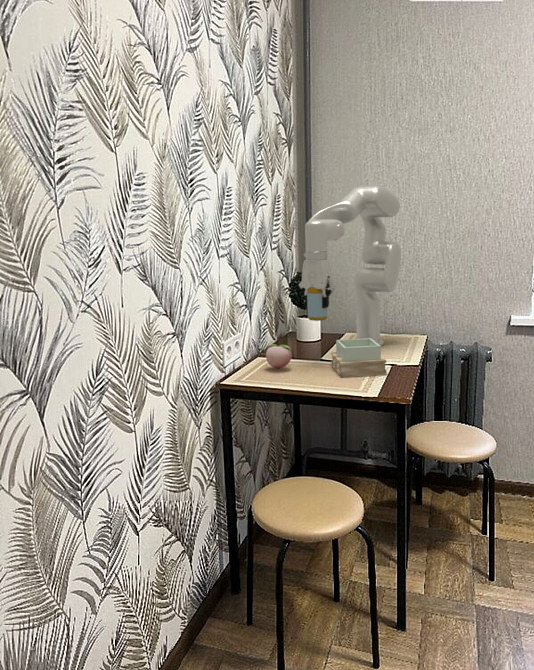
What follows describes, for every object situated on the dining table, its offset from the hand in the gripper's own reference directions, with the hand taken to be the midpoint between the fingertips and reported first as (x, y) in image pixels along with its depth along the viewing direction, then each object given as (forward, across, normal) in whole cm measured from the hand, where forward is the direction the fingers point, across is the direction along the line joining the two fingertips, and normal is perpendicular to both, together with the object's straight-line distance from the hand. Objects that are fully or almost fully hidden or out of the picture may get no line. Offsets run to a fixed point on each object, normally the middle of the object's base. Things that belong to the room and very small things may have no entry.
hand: (317, 306), depth 221 cm
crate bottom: (+21, +16, +1) cm, 27 cm away
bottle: (+5, 0, 0) cm, 5 cm away
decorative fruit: (+22, -7, -14) cm, 27 cm away
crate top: (+16, +16, +1) cm, 23 cm away
